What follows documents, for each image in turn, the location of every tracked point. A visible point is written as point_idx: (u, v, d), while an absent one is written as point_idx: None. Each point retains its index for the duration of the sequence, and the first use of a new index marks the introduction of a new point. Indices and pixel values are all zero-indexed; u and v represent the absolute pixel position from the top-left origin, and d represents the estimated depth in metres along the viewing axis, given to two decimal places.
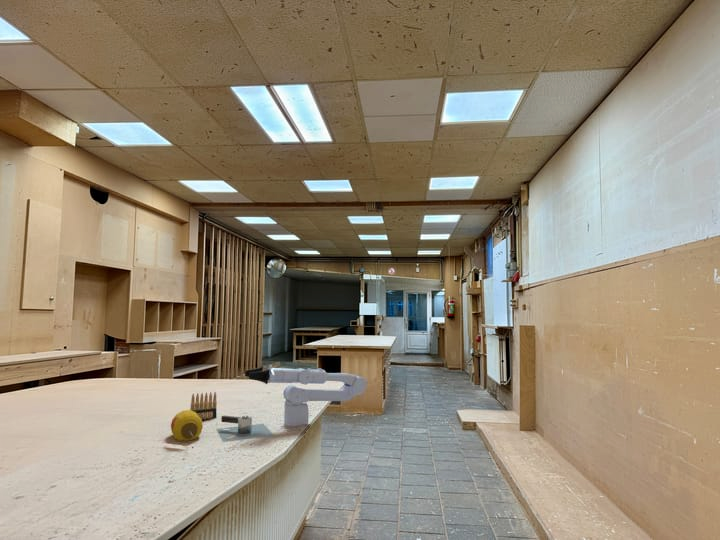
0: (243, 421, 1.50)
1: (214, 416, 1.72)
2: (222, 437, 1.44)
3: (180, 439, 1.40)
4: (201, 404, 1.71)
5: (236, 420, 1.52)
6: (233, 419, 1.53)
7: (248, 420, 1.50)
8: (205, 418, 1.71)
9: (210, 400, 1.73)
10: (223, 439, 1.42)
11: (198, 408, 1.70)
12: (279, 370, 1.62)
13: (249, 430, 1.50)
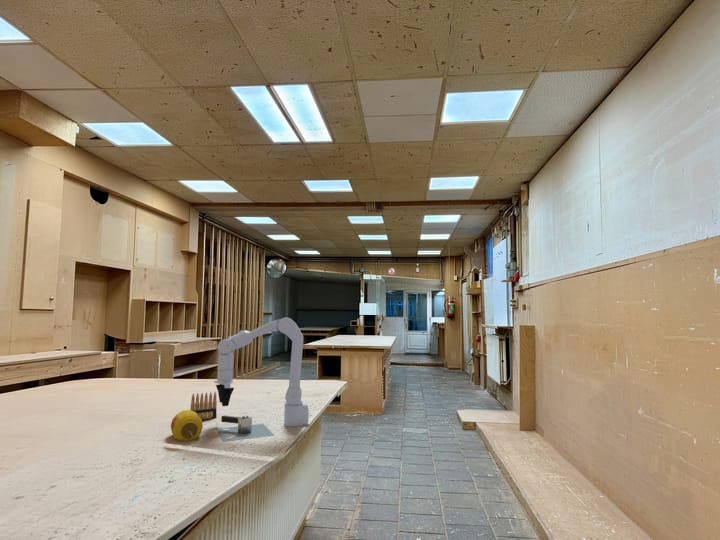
0: (243, 421, 1.50)
1: (214, 416, 1.72)
2: (222, 437, 1.44)
3: (180, 439, 1.40)
4: (201, 404, 1.71)
5: (236, 420, 1.52)
6: (233, 419, 1.53)
7: (248, 420, 1.50)
8: (205, 418, 1.71)
9: (210, 400, 1.73)
10: (223, 439, 1.42)
11: (198, 408, 1.70)
12: (220, 373, 1.60)
13: (249, 430, 1.50)
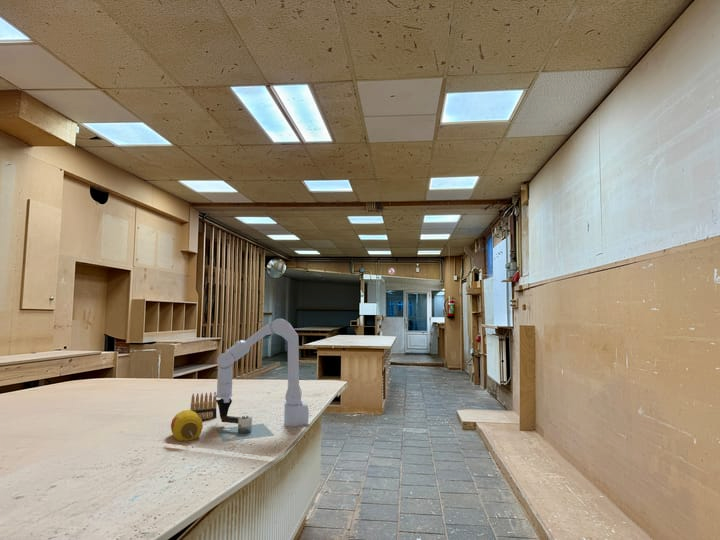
0: (243, 421, 1.50)
1: (214, 416, 1.72)
2: (222, 437, 1.44)
3: (180, 439, 1.40)
4: (201, 404, 1.71)
5: (236, 420, 1.52)
6: (233, 419, 1.53)
7: (248, 420, 1.50)
8: (205, 418, 1.71)
9: (210, 400, 1.73)
10: (223, 439, 1.42)
11: (198, 408, 1.70)
12: (219, 387, 1.60)
13: (249, 430, 1.50)
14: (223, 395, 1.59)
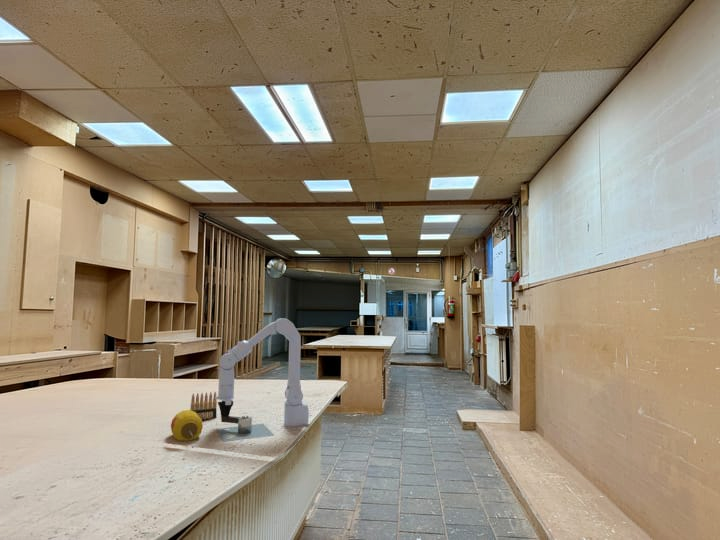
0: (243, 421, 1.50)
1: (214, 416, 1.72)
2: (222, 437, 1.44)
3: (180, 439, 1.40)
4: (201, 404, 1.71)
5: (236, 420, 1.52)
6: (233, 419, 1.53)
7: (248, 420, 1.50)
8: (205, 418, 1.71)
9: (210, 400, 1.73)
10: (223, 439, 1.42)
11: (198, 408, 1.70)
12: (221, 389, 1.56)
13: (249, 430, 1.50)
14: (225, 397, 1.55)
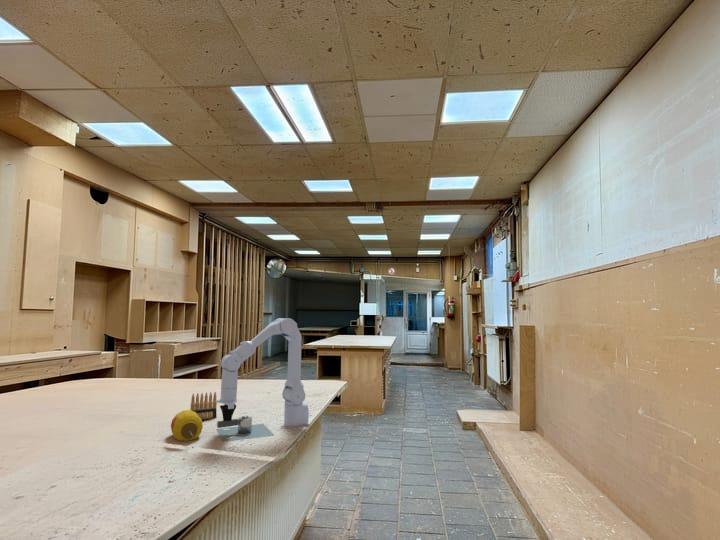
0: (249, 420, 1.51)
1: (214, 416, 1.72)
2: (222, 437, 1.44)
3: (180, 439, 1.40)
4: (201, 404, 1.71)
5: (237, 422, 1.50)
6: (233, 422, 1.49)
7: (251, 419, 1.52)
8: (205, 418, 1.71)
9: (210, 400, 1.73)
10: (223, 439, 1.42)
11: (198, 408, 1.70)
12: (223, 392, 1.48)
13: None
14: (227, 400, 1.48)
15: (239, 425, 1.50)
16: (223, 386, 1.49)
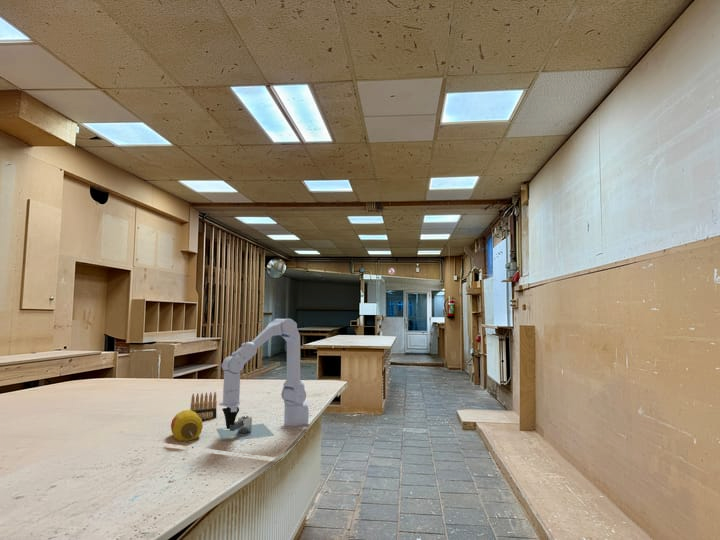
0: (251, 419, 1.52)
1: (214, 416, 1.72)
2: (222, 437, 1.44)
3: (180, 439, 1.40)
4: (201, 404, 1.71)
5: (242, 423, 1.49)
6: (241, 423, 1.47)
7: None
8: (205, 418, 1.71)
9: (210, 400, 1.73)
10: (223, 439, 1.42)
11: (198, 408, 1.70)
12: (225, 395, 1.45)
13: None
14: (230, 403, 1.44)
15: (244, 425, 1.49)
16: (226, 389, 1.45)
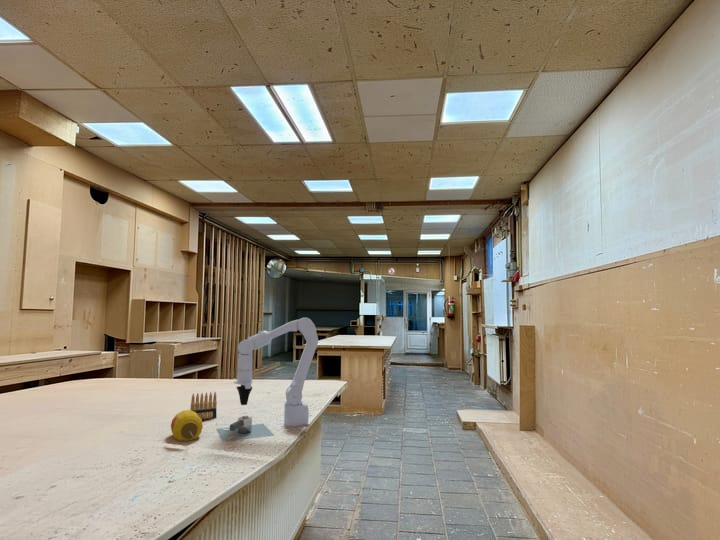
0: (251, 419, 1.52)
1: (214, 416, 1.72)
2: (222, 437, 1.44)
3: (180, 439, 1.40)
4: (201, 404, 1.71)
5: (242, 423, 1.49)
6: (241, 423, 1.47)
7: None
8: (205, 418, 1.71)
9: (210, 400, 1.73)
10: (223, 439, 1.42)
11: (198, 408, 1.70)
12: (240, 374, 1.60)
13: None
14: (244, 381, 1.59)
15: (244, 425, 1.49)
16: (238, 368, 1.61)
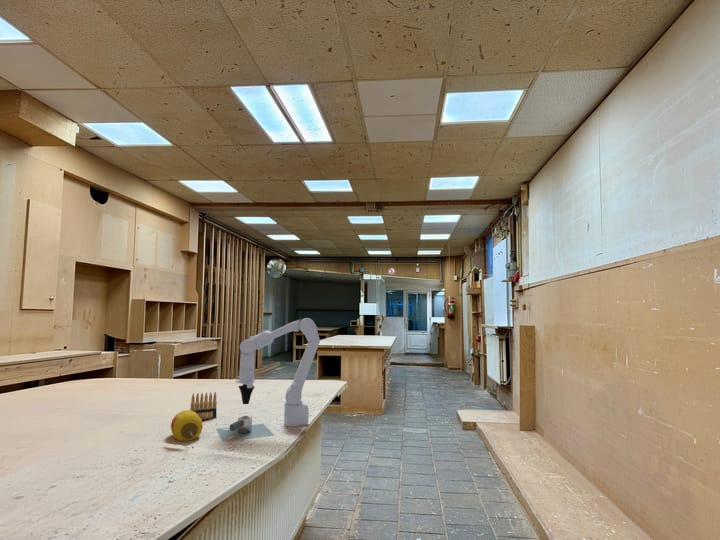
0: (251, 419, 1.52)
1: (214, 416, 1.72)
2: (222, 437, 1.44)
3: (180, 439, 1.40)
4: (201, 404, 1.71)
5: (242, 423, 1.49)
6: (241, 423, 1.47)
7: None
8: (205, 418, 1.71)
9: (210, 400, 1.73)
10: (223, 439, 1.42)
11: (198, 408, 1.70)
12: (242, 373, 1.61)
13: None
14: (246, 381, 1.60)
15: (244, 425, 1.49)
16: (240, 367, 1.62)
